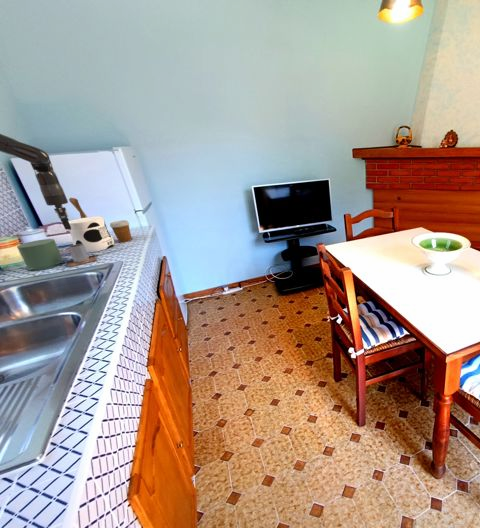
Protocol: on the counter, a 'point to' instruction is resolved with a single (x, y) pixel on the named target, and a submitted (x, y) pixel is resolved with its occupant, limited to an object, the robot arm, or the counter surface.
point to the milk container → (91, 234)
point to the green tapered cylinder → (40, 254)
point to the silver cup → (78, 253)
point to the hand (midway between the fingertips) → (67, 227)
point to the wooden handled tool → (77, 207)
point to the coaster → (72, 264)
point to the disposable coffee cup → (121, 230)
